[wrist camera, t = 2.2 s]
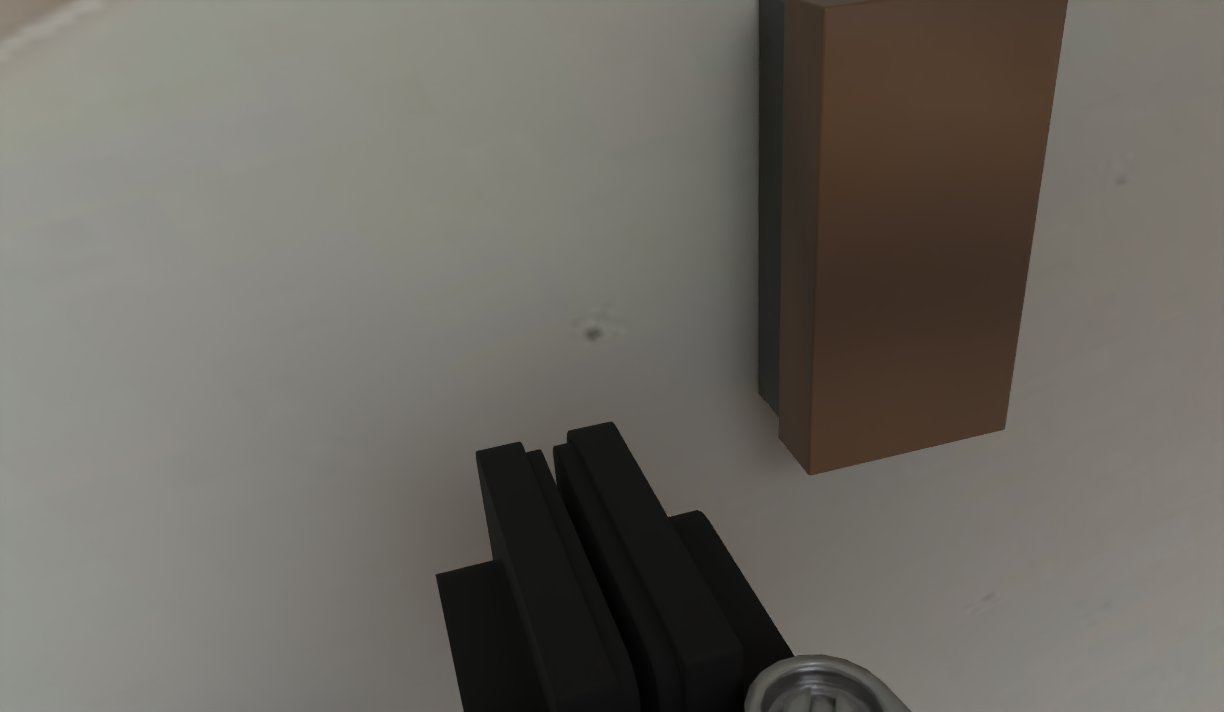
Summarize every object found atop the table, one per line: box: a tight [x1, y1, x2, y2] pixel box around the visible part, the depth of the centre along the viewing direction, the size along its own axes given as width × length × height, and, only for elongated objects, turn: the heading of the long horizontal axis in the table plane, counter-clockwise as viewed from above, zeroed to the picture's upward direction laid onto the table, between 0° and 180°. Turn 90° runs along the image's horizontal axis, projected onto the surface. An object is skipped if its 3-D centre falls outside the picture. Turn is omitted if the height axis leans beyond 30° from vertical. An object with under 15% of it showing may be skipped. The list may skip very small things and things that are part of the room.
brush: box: [759, 0, 1068, 475], centre depth 19 cm, size 9×4×3 cm, turn 4°
